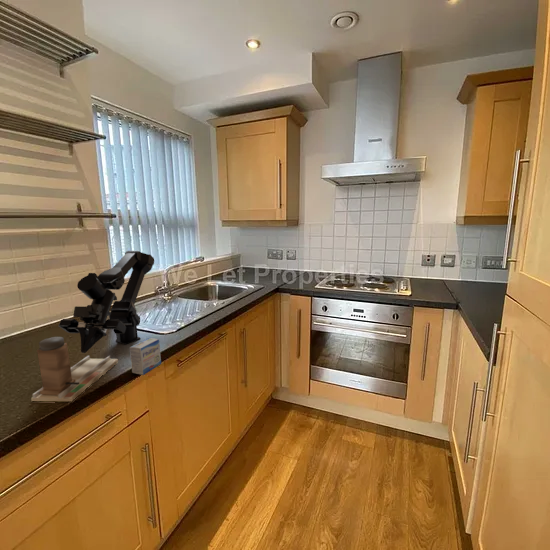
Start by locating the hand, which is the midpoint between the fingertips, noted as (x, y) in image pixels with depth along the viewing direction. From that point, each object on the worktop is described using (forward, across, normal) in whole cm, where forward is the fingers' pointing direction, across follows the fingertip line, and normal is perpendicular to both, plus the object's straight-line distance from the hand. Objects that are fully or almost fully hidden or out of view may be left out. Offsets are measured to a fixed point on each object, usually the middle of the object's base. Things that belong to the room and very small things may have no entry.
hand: (83, 352), depth 91 cm
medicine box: (+3, +18, +7) cm, 19 cm away
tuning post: (+11, +2, -4) cm, 12 cm away
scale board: (+8, 0, +2) cm, 8 cm away
